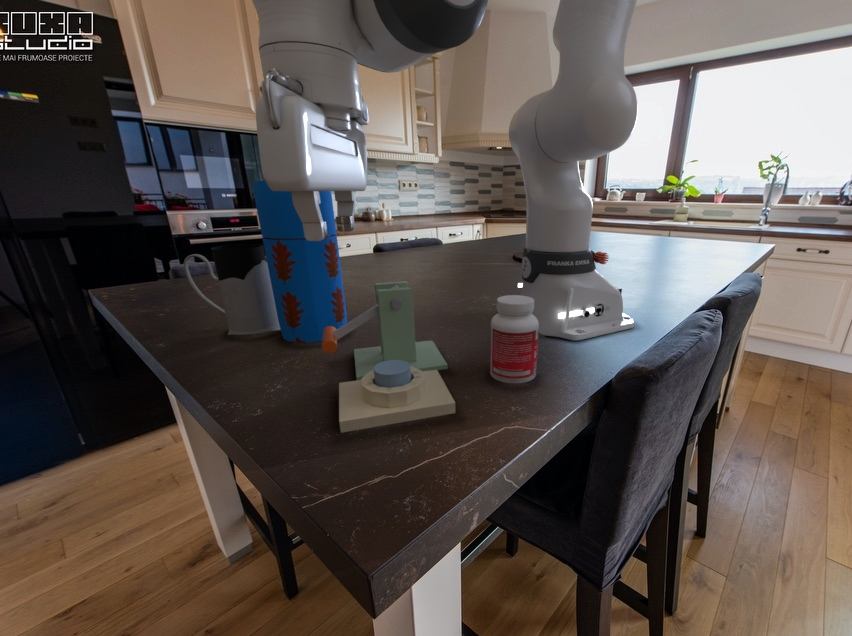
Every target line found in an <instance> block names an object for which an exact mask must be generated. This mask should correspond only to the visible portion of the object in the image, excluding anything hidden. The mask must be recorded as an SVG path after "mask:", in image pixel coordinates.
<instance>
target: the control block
mask: <svg viewBox="0 0 852 636" xmlns="http://www.w3.org/2000/svg"><path fill="white" fill-rule="evenodd" d="M410 368H411V382H410V383H408V384H405V385H403V386H399V387H392V388H387V387H379V386H377V385H376V384H375V377H374V370H373V371H370V372H368V373H367V374H366V375H365V376H364V377H363V378H362V379H361V380H357V379H356V380H350V381H349V380H348V381H343V382H339V383H338V424H339V431H340V433H341V434H342V433H348V432H353V431H359V430H365V429H370V428H377V427H382V426H388V425H394V424H395V425H396V424H400V423H406V422H411V421H418V420H423V419H429V418H435V417H441V416H447V415H452V414H456V401H455V400H454V398H453V396H452V394H451V393H450V391H449V389H448V386H447V385H446V382H445V381H444V379H443V378H442V376H441V374H440V373H439V370H430V371H423V372H422V371H421V370H419V369H417V368H414V367H412V366H410Z"/></svg>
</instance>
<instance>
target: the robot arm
mask: <svg viewBox="0 0 852 636" xmlns="http://www.w3.org/2000/svg"><path fill="white" fill-rule="evenodd" d="M251 1H252V4H253V7H254V9H255V12H256V15H257V19H258V25H259V27H258V28H259V35H258V52H259V59H260V65H261V70H262V77H263V80H261V83H260V84H261V93H262V96H260V97H259V98H258V99H257V101H256V106H255V122H256V135H257V143H258V152H259V160H260V166H261V167H260V168H261V172H262V176H263V179H264V181H266V183H267V184H268V186H269V188H270V189H271V190H272V191H291V194H292V200H293V205H294V207H295V209H296V211H297V213H298V215H299V217H300V219H301V222H302V223H303V229H304V235H305V238H306V240H308V241H322V240H324V239H326V238H327V236H328V233H327V226H326V222H323V219H322V216H321V212H320V208H319V204H320V203H321V202H320V194H319V191H331V192H333V193H334V194H333V195H334V201H335V202H336V208H337V216H335V224H336V230H337V231H338V232H340V233H349V232H353V231H354V230H355V228H356V224H355V211H356V204H357V198H356V192H365V191H366V189H367V185H368V149H367V148H368V147H367V136H366V131H365V127H364V126H367V125H369V124H370V118H369V117H370V116H369V109H368V105H367V103H366V101H365V99H364V95H363V94H362V87H361V82H360V77H359V76H360V75H359V66H358V65H360V66H363V67H365V68H368V69H371V70H375V71H377V72H381V73H387V74H389V73H391V74H392V73H399V72H403V71H405V70H407V69H409V68H411V67H413V66H415V65H417V64H420V63H421V62H424V60H426V59H429V58H431V57H432V56H434V55H436V54H438V53H442V52H444V51H448V50H451V49H453V48H456V47H459V46H461V45H463V44H465V43H466V42H467V41H468V40H470V39H471V38H472V36H474V35H475V33H476V32H477V30H478V29H479V27H480V25H481V23H482V21H483V19H484V16H485V14H486V9H487V6H488V3H489V0H251ZM637 3H638V0H559V3H558V6H557V11H556V16H555V21H554V24H553V28H552V40H553V45H554V46H555V48H556V50H557V52H558V53H559V67H558V73H557V78H556V81H555V83H554V85H553V86H552V87H551V88H550V89H548V90H546V91H542V92H541V93H538V94H536V95H533V96H531V97H529V98H528V99H527V100H526V101H525V102H524V103H523V104H522V105H521V106H520V107H519V108H518V109H517V110H516V111H515V112H514V114H513V116H512V117H511V119H510V122H509V126H508V140H509V144H510V147H511V149H512V151H513V152H514V154H515V155H516V157H517V158H518V159H517V160H518V162H519V165H520V170H521V175H522V179H523V186H524V191H525V192H524V193H525V199H526V200H525V202H526V220H525V247H523V249H522V257H521V259H522V260H521V279H522V282H518V283H517V288H521V291H520V295H521V296H527V297H531V298H533V299H534V310H533V312H532V315H534V316H535V317H536V318H537V320H538V322H539V331H538V333H539V334H541V335H542V336H546V337H554V338H555V337H556V338H561V339H564V340H565V339H566V340H569V341H583V340H587V339H591V338H595V337H599V336H604V335H608V334H613V333H617V332H620V331H625V330H630V329H634V328H635V321H634V319H633V318H632V317H630V316H629V315H627V314H626V313H624V302H623V300H624V299H623V296H622V292H623V288H621V287H617V286H614V285H613V284H612V283H611V282H610V281H609V280H607V278H605V277H604V276H603V275H602V274H601V273H600V272H599V271H597V267H596V264H600V265H606V264H607V262H609V259H610V257H609V254H608V253H607V252H602V251H596V252H595V251H593V250H592V249H590V242H591V231H592V219H593V211H594V210H593V209H594V204H593V200H592V197H591V196H590V194H588V192H587V191H586V190H585V188H584V186H583V182H582V179H581V174H580V167H579V162H580V161H581V162H582V161H590V160H591V161H592V160H595V159H598V158H601V157H603V156H605V155H607V154H610V153H611V152H613V151H616V150H618V149H620V148H621V147H622V146H623V145H625V143H627V142H628V140H629V139H630V137H631V136H632V134H633V132H634V130H635V127H636V124H637V120H638V114H639V113H638V112H639V106H638V98H637V94H636V91H635V89H634V86H633V85H632V83H631V82H630V80H628V78H627V76H626V73H625V53H626V44H627V40H628V36H629V32H630V29H631V24H632V21H633V16H634V13H635V10H636V6H637Z"/></svg>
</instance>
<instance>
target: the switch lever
mask: <svg viewBox="0 0 852 636" xmlns="http://www.w3.org/2000/svg"><path fill="white" fill-rule="evenodd" d="M393 288H399V287H398V286H397V285H395V286H394V287H392V288H390V289H393ZM378 314H379V306H378V304H375V305H373V306H371V307H370V308H369V309H367V310H365V311H364V312H362V313H361V314H359V315H357V316H356V317H354V318H352V319H351V320H349V321H347V323H346V324H345V325H343V326H341V327H340V328H338V329H336V328H335V327H333V326H328V327H326V328H325V329H324V332H323V341H321V342H322V343H321V349H322V351H323V352H324V353H326V354H333V353H335V352H336V351H337V349H338V340H340V339H341V338H342V337H345V336H346V335H348V334H350V333H351V332H352V331H354V330H356V329H357V328H360V327H361V326H362V325H364V324H366V323H367V322H368V321H370V320H371V319H373V318H374V317H376V316H378Z"/></svg>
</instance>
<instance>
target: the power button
mask: <svg viewBox="0 0 852 636" xmlns="http://www.w3.org/2000/svg"><path fill="white" fill-rule="evenodd" d="M374 377H375V384H376V385H377V386H379V387H387V388H392V387H399V386H403V385H405V384H408V383H410V382H411V368H410V364H409V363H408V362H406V361H403V360H388V361H384V362H381V363H379V364H377V365H376V366H375V367H374Z"/></svg>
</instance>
